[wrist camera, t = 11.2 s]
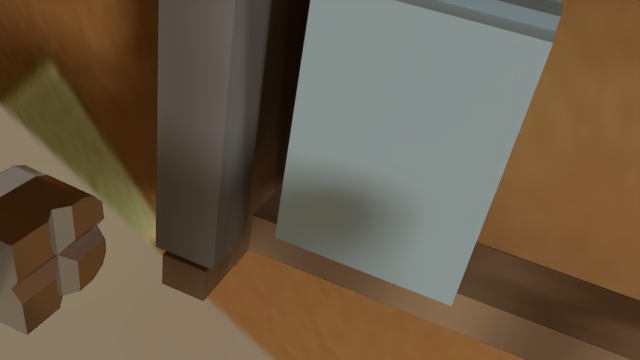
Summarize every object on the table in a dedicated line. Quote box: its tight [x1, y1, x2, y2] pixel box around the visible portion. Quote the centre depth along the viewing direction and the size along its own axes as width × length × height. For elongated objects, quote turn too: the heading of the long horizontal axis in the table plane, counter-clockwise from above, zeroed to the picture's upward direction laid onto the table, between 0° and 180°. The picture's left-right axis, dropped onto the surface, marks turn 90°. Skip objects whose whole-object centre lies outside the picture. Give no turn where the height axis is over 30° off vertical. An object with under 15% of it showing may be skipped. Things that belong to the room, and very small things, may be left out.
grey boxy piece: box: [275, 0, 563, 306], centre depth 16 cm, size 5×8×6 cm, turn 170°
